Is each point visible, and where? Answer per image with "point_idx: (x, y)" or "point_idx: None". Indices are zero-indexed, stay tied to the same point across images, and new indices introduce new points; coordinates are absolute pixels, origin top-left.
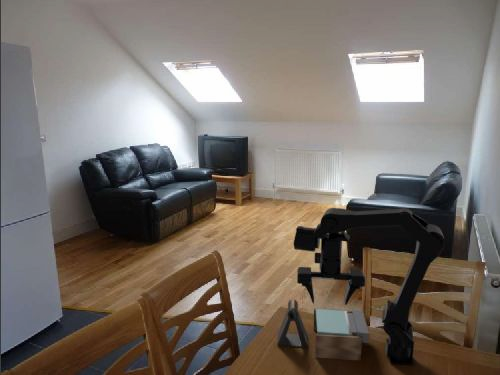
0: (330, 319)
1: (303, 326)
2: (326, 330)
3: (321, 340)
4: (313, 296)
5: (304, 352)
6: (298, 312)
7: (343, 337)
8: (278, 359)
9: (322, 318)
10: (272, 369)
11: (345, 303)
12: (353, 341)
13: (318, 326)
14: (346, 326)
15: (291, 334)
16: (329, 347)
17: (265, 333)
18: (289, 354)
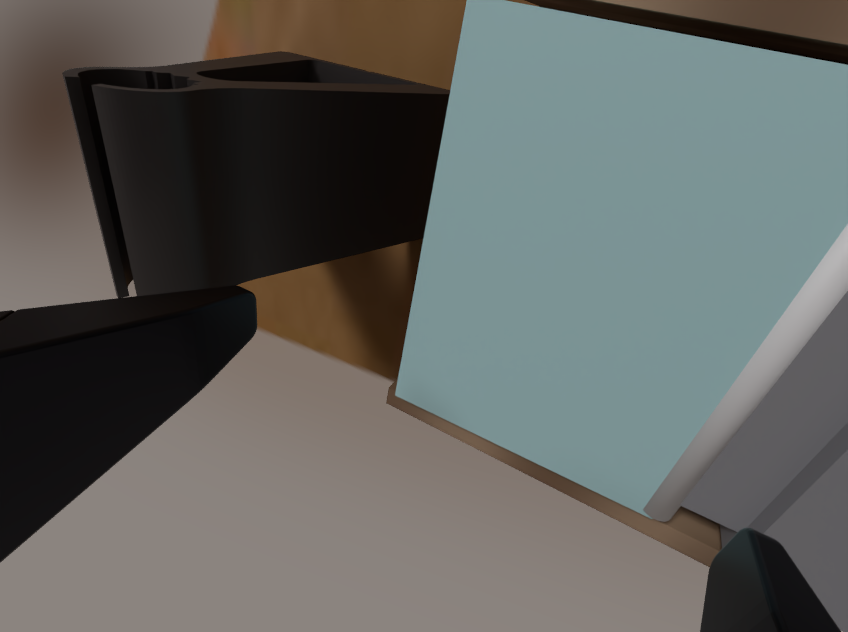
0: (566, 273)
1: (385, 127)
2: (463, 408)
3: None
4: (130, 450)
5: (412, 268)
6: (261, 112)
7: (578, 497)
8: (295, 282)
9: (485, 235)
10: (277, 331)
11: (706, 615)
12: None
13: (415, 343)
14: (684, 430)
15: (357, 80)
16: None
17: (222, 36)
18: (340, 262)
